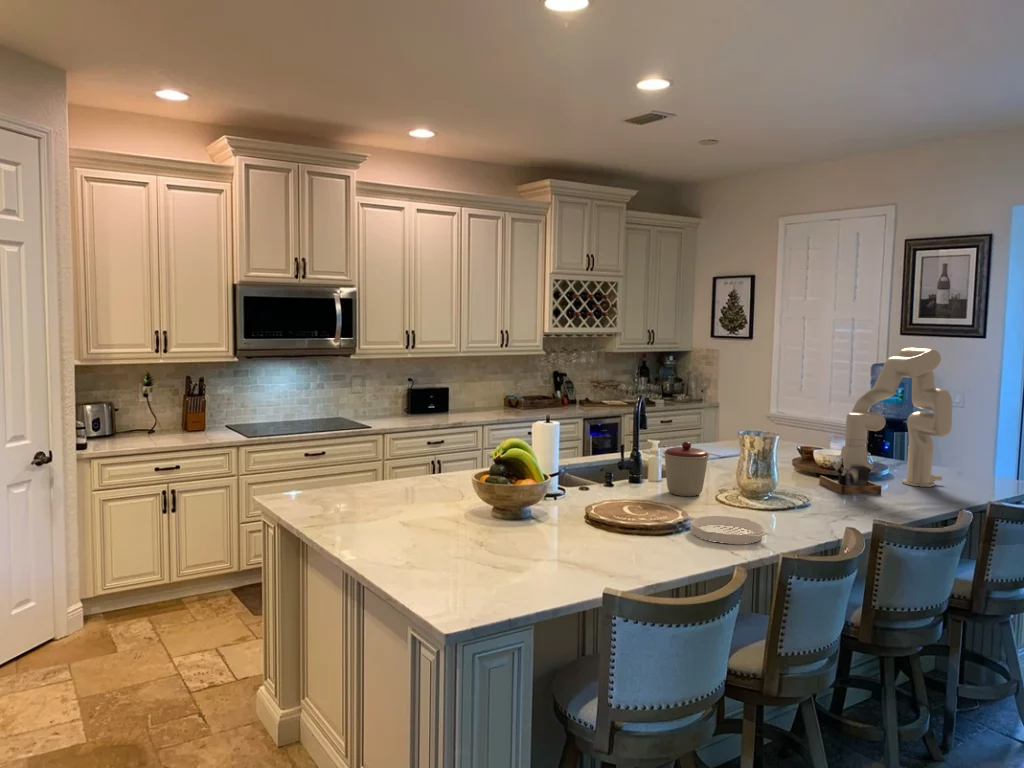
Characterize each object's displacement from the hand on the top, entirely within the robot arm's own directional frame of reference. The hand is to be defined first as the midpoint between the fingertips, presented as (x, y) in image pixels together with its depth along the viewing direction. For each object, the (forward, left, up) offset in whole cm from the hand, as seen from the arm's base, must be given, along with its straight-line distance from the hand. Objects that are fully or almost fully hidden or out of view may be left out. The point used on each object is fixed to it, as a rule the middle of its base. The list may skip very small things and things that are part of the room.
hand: (852, 484), depth 322 cm
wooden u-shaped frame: (0, -2, -3) cm, 4 cm away
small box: (0, 0, -3) cm, 3 cm away
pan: (+80, +60, -3) cm, 100 cm away
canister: (+73, +8, -3) cm, 73 cm away
